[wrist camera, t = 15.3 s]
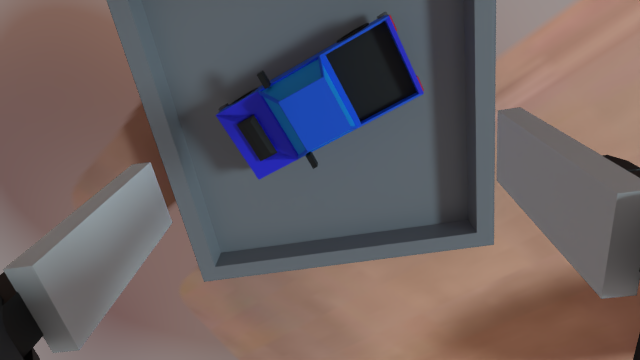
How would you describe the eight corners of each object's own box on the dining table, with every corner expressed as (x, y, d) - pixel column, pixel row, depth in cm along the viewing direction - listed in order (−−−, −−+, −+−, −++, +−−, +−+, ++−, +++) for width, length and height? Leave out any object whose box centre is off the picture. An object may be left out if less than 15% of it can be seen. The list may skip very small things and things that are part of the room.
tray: (103, -69, 24) (79, -77, 21) (479, -147, 22) (497, -164, 20) (212, 262, 33) (204, 281, 31) (481, 227, 31) (493, 244, 29)
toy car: (217, 94, 27) (195, 112, 22) (377, -1, 24) (389, -2, 20) (269, 173, 29) (259, 205, 25) (421, 95, 27) (440, 113, 22)
